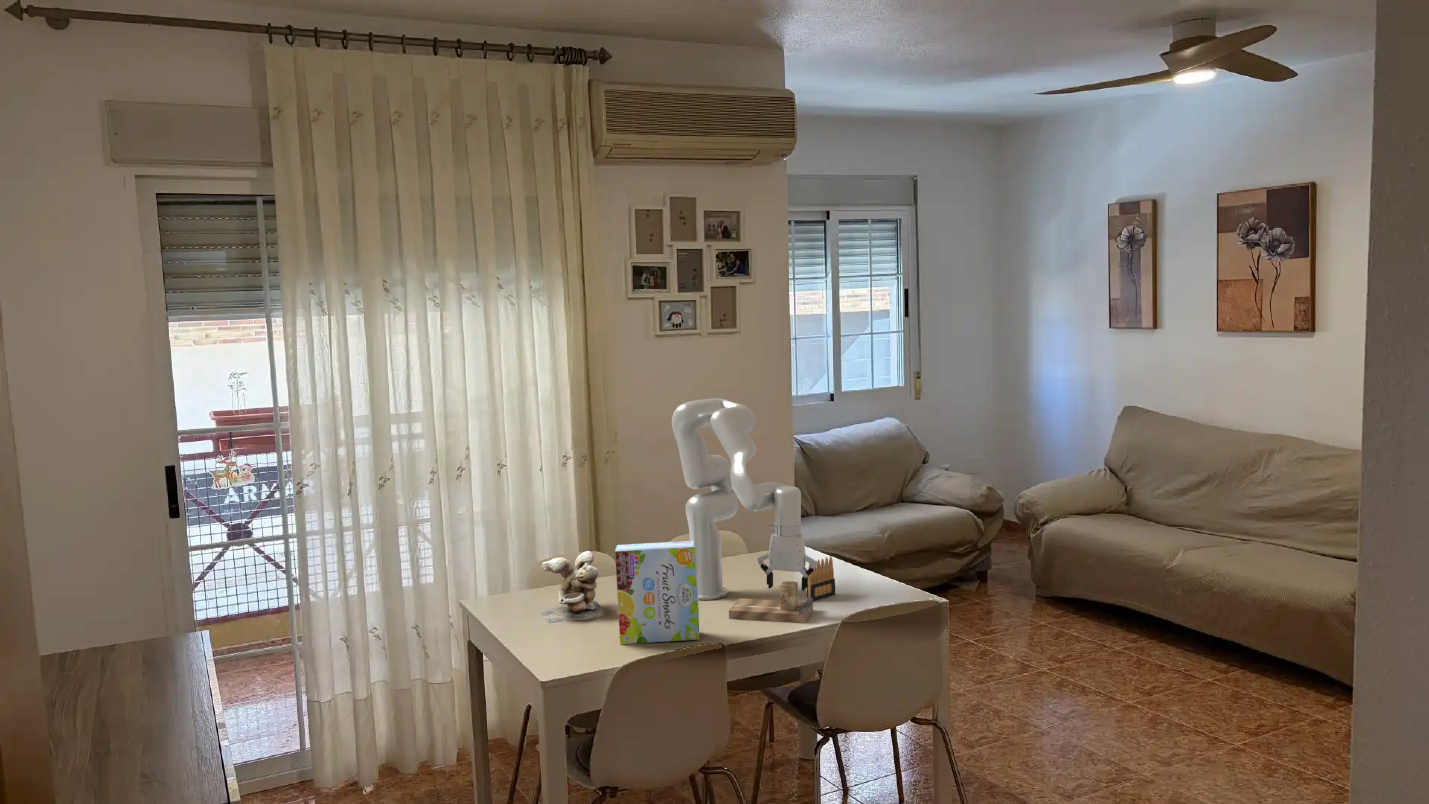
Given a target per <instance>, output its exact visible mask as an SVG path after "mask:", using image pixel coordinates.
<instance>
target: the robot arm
mask: <svg viewBox="0 0 1429 804" xmlns="http://www.w3.org/2000/svg"><path fill="white" fill-rule="evenodd" d="M755 426H756V418H755V414H754V412H753V411H752V410H751V409H750V408H749V407H748V406H746V405H743V404H742V403H738V402H735V401H731V400H728V399H724V398H719V397H714V398H705V399H696V400H695V399H694V400H690V401H686V402H684V403H682V404H680V405H678V406H676V408H675V409H674V412H673V414H672V417H671V427H672V432H673V435H674V439H675V442H676V444H677V448H678V453H679V458H680V462H681V469H682V473H683V477H684V482H685V485H686V486H687V487H688V488H690V489H692V490H700V489H706V488H711V491H705V492H701V493H697V494H694V495H693V496H691V497H690V498H689V499H688V500H687V501H686V503H685V510H684V511H685V515H686V520H687V525H688V529H689V530H688V532H689V541H694V543H695V554H696V569H697V585H698V601H699V600H700V601H710V600H718V599H721V598H724V597H726V596H727V595H728V588H727V587H724V586H723V562H722V538H721V533H720V531H719V529H718V528H717V525H716V523H718V522H721V521H725V520H729V519H731V518H733V517H734V516H735V515H736V514H737V512H738V510H739V508H738V507H739V503H738V502H740V504H741V505H742V506H743V508H745V510H747V511H748V512H749V511H750V512H752V513H756V512H760V511H765V510H769V509H770V510H771V509H773V510H774V512H773V513H774V514H773V515H774V516H773V518H774V520H773V522H774V523H773V524H769V526H768V528H769V529H768V530H771V531H772V532H773V533H772V534H771V535H770V540H769V547H768V548H769V549H768V553H765V554H763V555H760V556H759V557H757V562H758V564H759V567H760V569H761V570H762V571H763V572H764V573H765V575H766V585H767V586H768V587H767V588H768V589H772V587H773V586H774V572H773V571H782V572H784V571H785V572H797V573H798V572H799V573H800V574H801V575H802V577H801V591H802V592H805V591H806V590H807V587H808V576H809V575H810V574H811V573H812V572H813V571H814V569H815V567H816V568H817V564H818V562H817V561H818V560H815V559H814V558H812V557H810V556H808V555H807V554H806V546H805V540H804V534H802V532H801V531H802V529H801V527H802V517H801V516H802V492H801V490H800V488H799V487H797V486H794V485H793V486H792V485H786V484H783V483H781V482H779V481H774V480H773V481H768V482H762V483H761V482H760V483H758V484H754V482H753V481H752V479H751V477H750V476H749V475H750V474H749V472H748V468H747V464H748V462H749V461H750V460H751V459H752V458H753V457H754V456H755V455H756V453H757V446H756V444H755V443H754V441H753V439H752V438H751V436H750V434H749V432H751V431H753V429H754V428H755ZM710 427H711V429H712V431H713V432H714V434H715V436H716V438H717V440H718V442H719V443H720V444H721V446H722V448H723V450H724V452H725V454H727V456H728V458H729V460H730V463H729V460H727V459H726V457H724V456H723V455H720V454H712V455H709V453H708V449H707V443H706V440H705V438H704V437H703V436H702V434H701V433H700V432H699V431H698V429H703V428H710ZM765 560H768V561H767V562H768V563H767V564H768V565H767V564H766V563H765ZM806 562H807V563H808V564H809V563H810V564H811V567H810V568H809V567H808V568H809V569H808V568H806V564H807V563H806Z"/></svg>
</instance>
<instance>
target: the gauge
mask: <svg viewBox="0 0 1429 804" xmlns="http://www.w3.org/2000/svg"><path fill="white" fill-rule="evenodd" d="M798 586H799V585H798V581H794V580H793V581H791V580H784V581H782V583H781V584H780V585H779V594H780V595H779V596H780V597H779V599H780V610H795V609H796V608H797V606H798V601H799V592H798V591H799V590H798V589H799V588H798Z"/></svg>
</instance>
